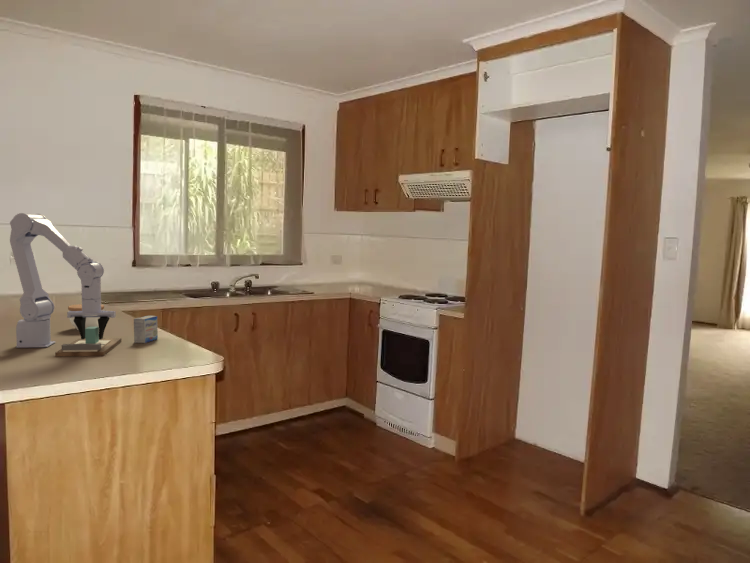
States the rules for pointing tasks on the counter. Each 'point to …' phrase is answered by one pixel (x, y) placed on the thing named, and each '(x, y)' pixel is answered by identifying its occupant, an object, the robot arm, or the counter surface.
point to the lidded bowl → (89, 320)
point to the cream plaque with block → (92, 337)
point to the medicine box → (145, 329)
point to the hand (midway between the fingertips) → (92, 338)
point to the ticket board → (101, 352)
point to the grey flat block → (82, 347)
